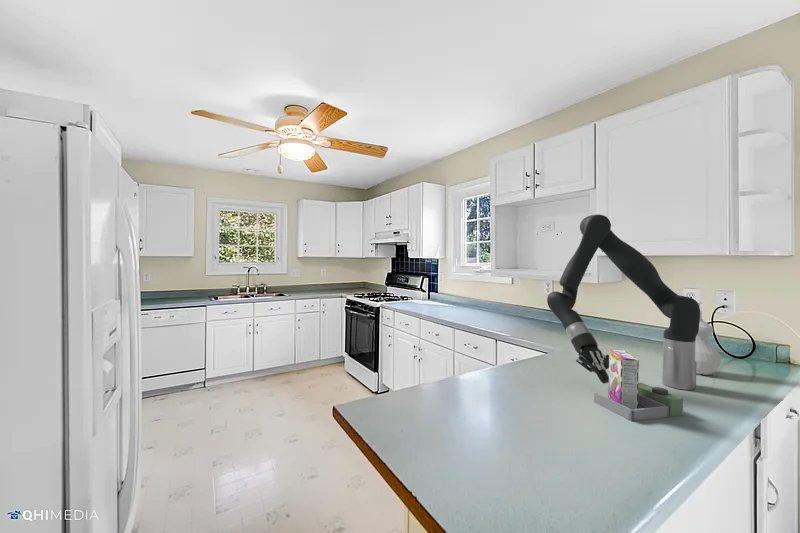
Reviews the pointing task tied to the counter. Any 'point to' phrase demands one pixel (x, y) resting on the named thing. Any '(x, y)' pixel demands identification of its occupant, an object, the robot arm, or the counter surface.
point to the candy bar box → (623, 378)
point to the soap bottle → (705, 349)
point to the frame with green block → (646, 404)
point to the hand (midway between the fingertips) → (606, 382)
